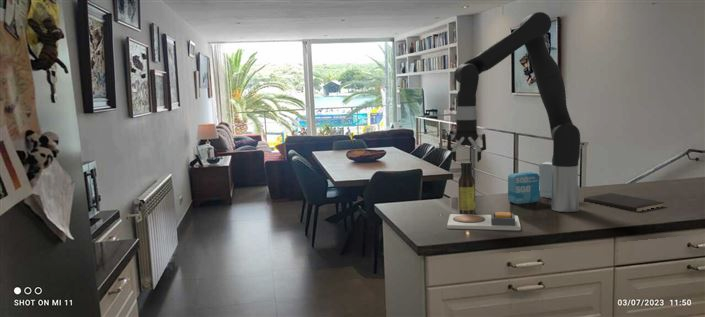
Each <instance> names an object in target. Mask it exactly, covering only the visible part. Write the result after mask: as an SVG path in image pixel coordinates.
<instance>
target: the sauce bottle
mask: <svg viewBox="0 0 705 317" xmlns="http://www.w3.org/2000/svg"><path fill="white" fill-rule="evenodd" d="M472 166H473V163H472V162H471V161H461V162H460V167H461V170H460V171H461V173H460V174H461V175H460V176H459V178H458V187H457V188H458V209H459V213H458V214H466V215H476V209H477V208H476V207H477V205H476V182H475V181H476V180H475V178H474V177H473V175H472Z"/></svg>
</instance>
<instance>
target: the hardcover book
mask: <svg viewBox="0 0 705 317" xmlns="http://www.w3.org/2000/svg"><path fill="white" fill-rule="evenodd" d="M583 202H584V203H588V202H589V204H593V203H594V205H598V204H599V206H603V205H604V206H603V207H608V206H609V208H613V207H614V209H618V208H619V210H623V211H628V212H633V211H634V212H633V213H638V212H637V211H639V212H642V210H644V211H648V210H647V209H649V210H652V209H651V208H654V209H657V208H656V207H659V208H662V207H661V206H664V204H665V201H660V200H659V201H658V200H654V199H648V198H642V197H637V196H629V195H625V194H618V193H614V192H608V193H603V194H596V195H592V196H585V197H584V198H583Z"/></svg>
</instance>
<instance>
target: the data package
mask: <svg viewBox="0 0 705 317" xmlns="http://www.w3.org/2000/svg"><path fill="white" fill-rule="evenodd" d="M507 200H508V202H509V203H512V204H514V205H521V204H529V203H530V204H531V203H537V202H539V200H540V181H539V173H536V172H532V171H529V172H528V171H527V172H516V173H515V172H514V173H510V174H509V175H508V176H507Z"/></svg>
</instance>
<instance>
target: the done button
mask: <svg viewBox="0 0 705 317" xmlns="http://www.w3.org/2000/svg"><path fill="white" fill-rule="evenodd" d="M494 213H495V218H511V214H512V213H511V212H510V211H495V212H494ZM510 213H511V214H510Z"/></svg>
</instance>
